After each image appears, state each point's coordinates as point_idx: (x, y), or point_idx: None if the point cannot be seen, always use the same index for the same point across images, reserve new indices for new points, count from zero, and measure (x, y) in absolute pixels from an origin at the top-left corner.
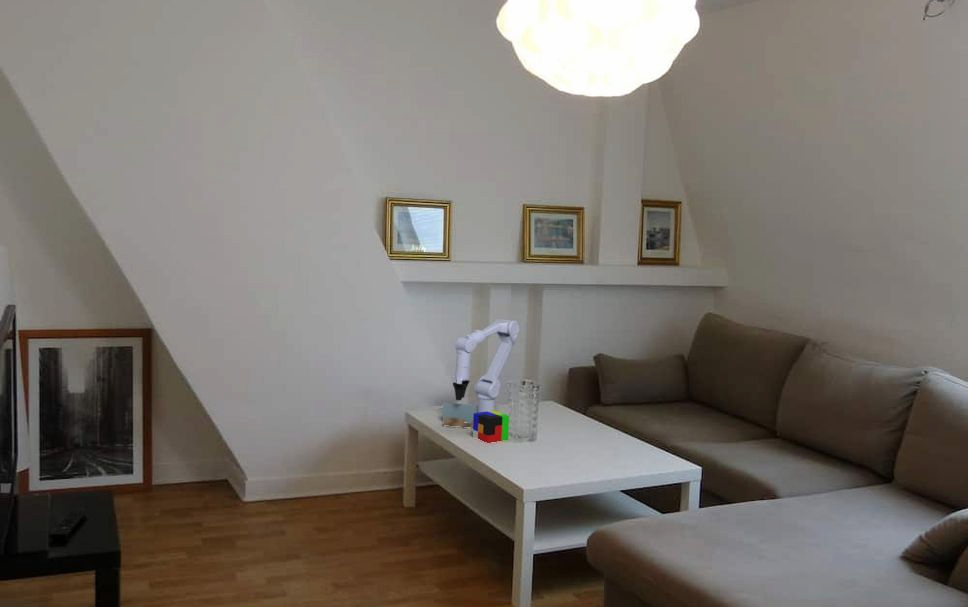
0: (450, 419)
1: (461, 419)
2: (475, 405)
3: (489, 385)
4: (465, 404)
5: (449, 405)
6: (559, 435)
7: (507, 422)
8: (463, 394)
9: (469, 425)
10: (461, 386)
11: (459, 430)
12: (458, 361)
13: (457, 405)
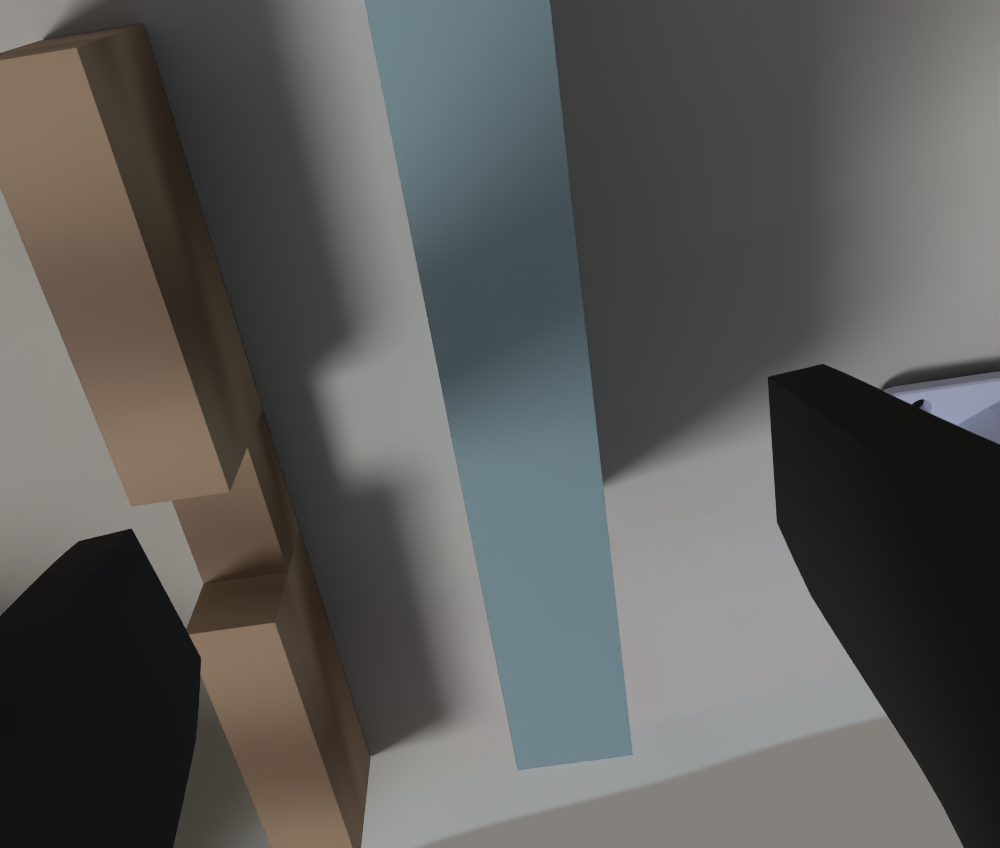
0: (32, 237)
1: (130, 466)
2: (569, 746)
3: None
4: (560, 539)
5: (387, 85)
6: None
7: None
8: (822, 591)
9: (195, 546)
10: None
11: (3, 418)
12: None
13: (440, 349)
